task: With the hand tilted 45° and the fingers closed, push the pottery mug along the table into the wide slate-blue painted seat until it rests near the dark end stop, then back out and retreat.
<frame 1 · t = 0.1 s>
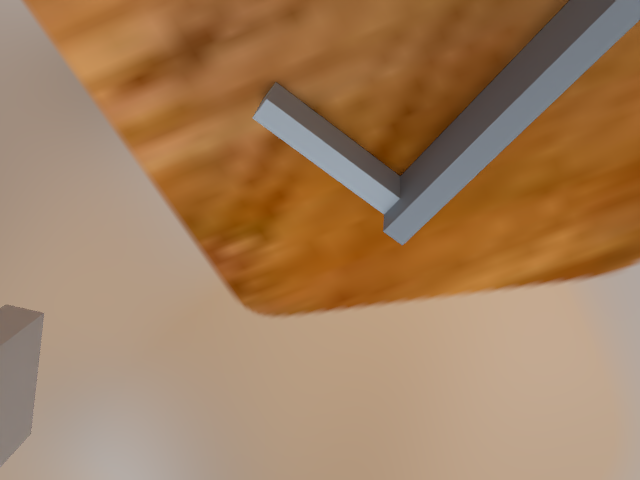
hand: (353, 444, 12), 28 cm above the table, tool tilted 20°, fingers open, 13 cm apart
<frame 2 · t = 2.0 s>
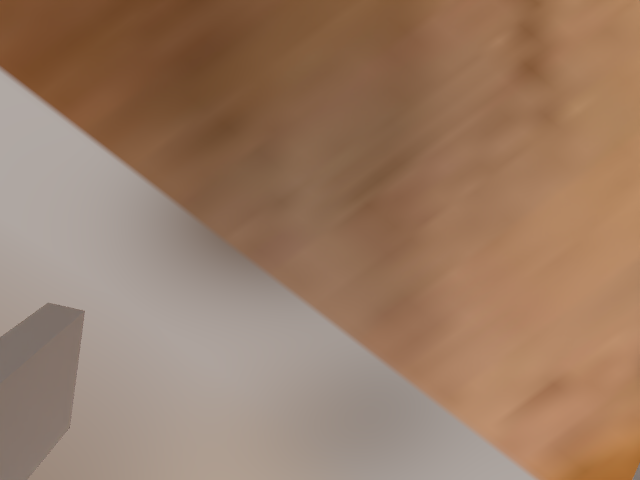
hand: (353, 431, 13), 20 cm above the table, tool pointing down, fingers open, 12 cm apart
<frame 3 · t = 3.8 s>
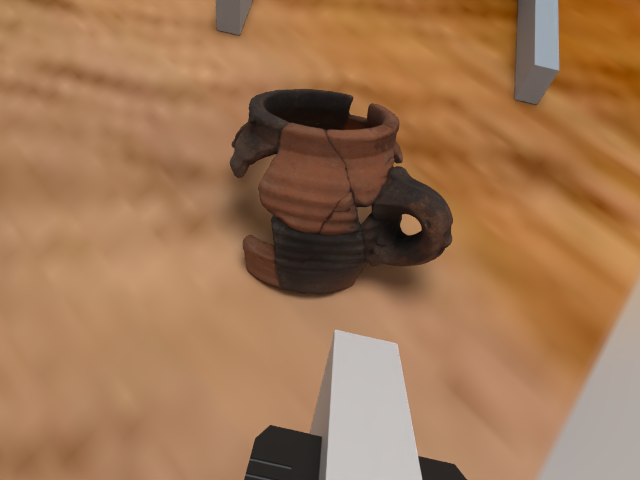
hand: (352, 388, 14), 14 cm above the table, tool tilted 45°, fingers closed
seat channel: (383, 35, 40), on the table
pottery mug: (327, 225, 33), on the table
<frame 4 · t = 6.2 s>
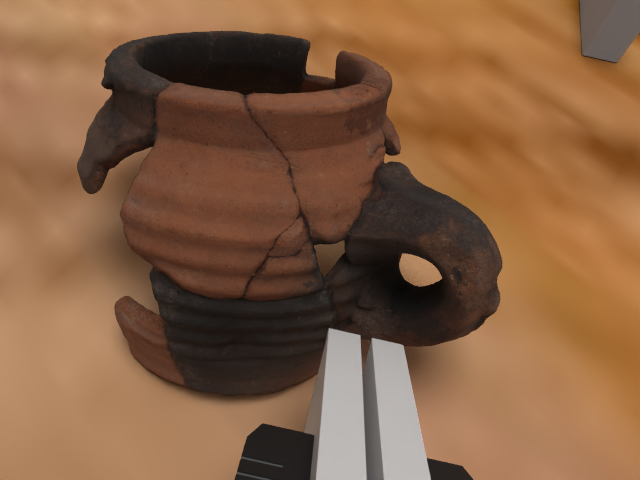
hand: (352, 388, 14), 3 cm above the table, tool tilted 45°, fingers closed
pottery mug: (277, 264, 19), on the table, touching gripper
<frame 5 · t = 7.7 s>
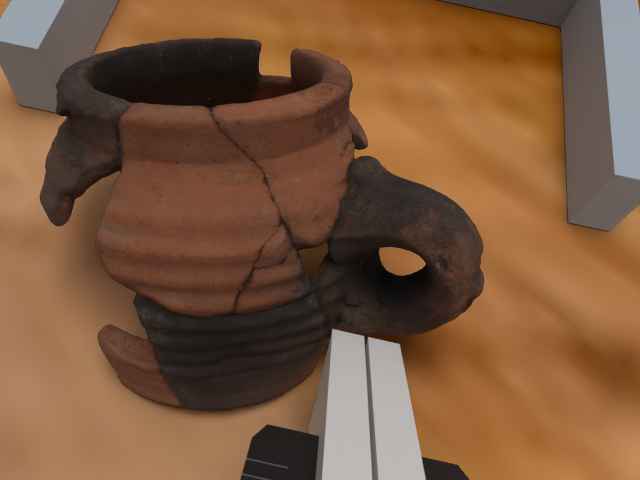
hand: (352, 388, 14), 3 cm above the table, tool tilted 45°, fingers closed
seat channel: (331, 104, 22), on the table
pottery mug: (254, 269, 19), on the table, touching gripper
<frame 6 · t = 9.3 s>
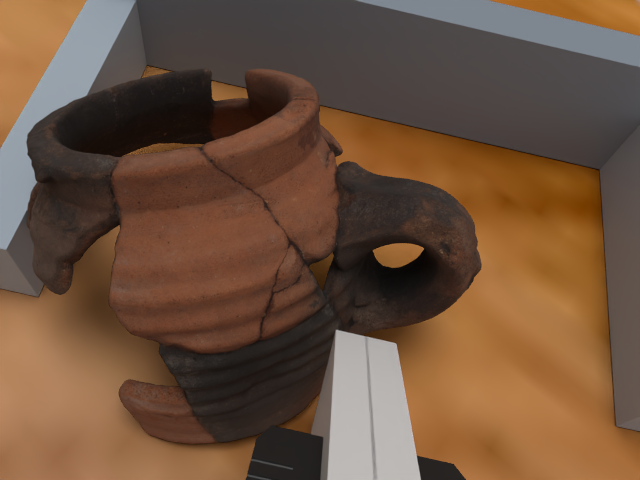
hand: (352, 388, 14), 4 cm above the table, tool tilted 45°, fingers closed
seat channel: (345, 275, 20), on the table
pottery mug: (247, 291, 19), on the table, touching gripper, seat channel
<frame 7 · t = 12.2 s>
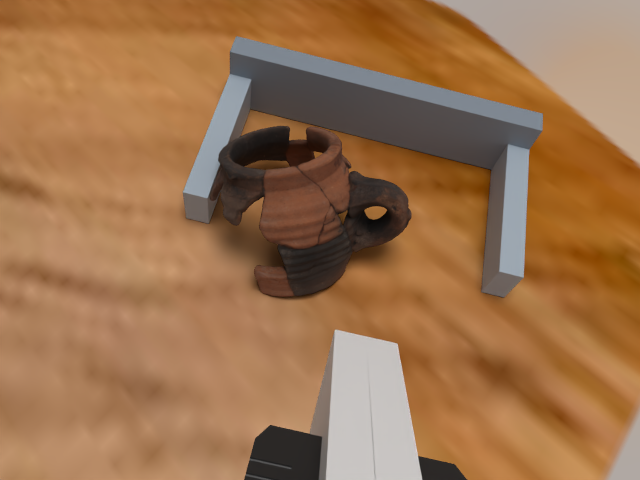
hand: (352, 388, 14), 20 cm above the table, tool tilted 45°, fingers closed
seat channel: (353, 219, 40), on the table
pottery mug: (303, 233, 40), on the table
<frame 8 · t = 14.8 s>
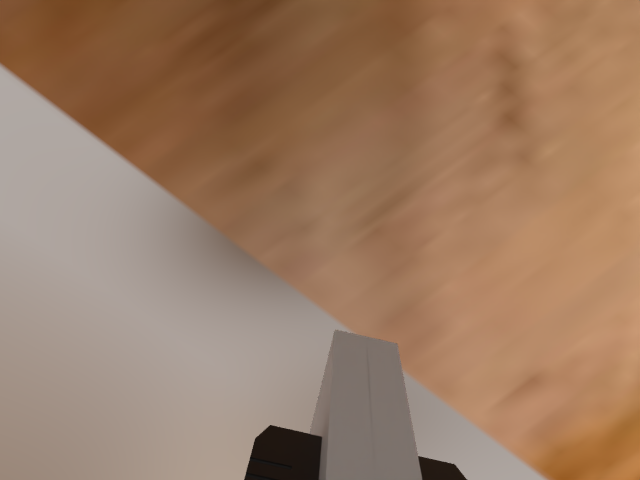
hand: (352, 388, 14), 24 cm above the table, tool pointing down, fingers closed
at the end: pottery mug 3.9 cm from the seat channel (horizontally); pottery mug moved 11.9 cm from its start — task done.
